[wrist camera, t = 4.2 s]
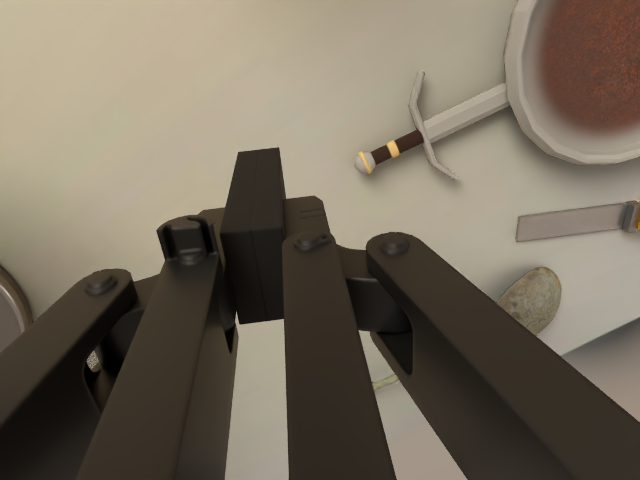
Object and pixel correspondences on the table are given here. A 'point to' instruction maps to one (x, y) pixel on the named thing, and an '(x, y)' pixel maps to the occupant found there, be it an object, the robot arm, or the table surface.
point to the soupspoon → (524, 304)
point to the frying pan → (553, 86)
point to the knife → (579, 221)
